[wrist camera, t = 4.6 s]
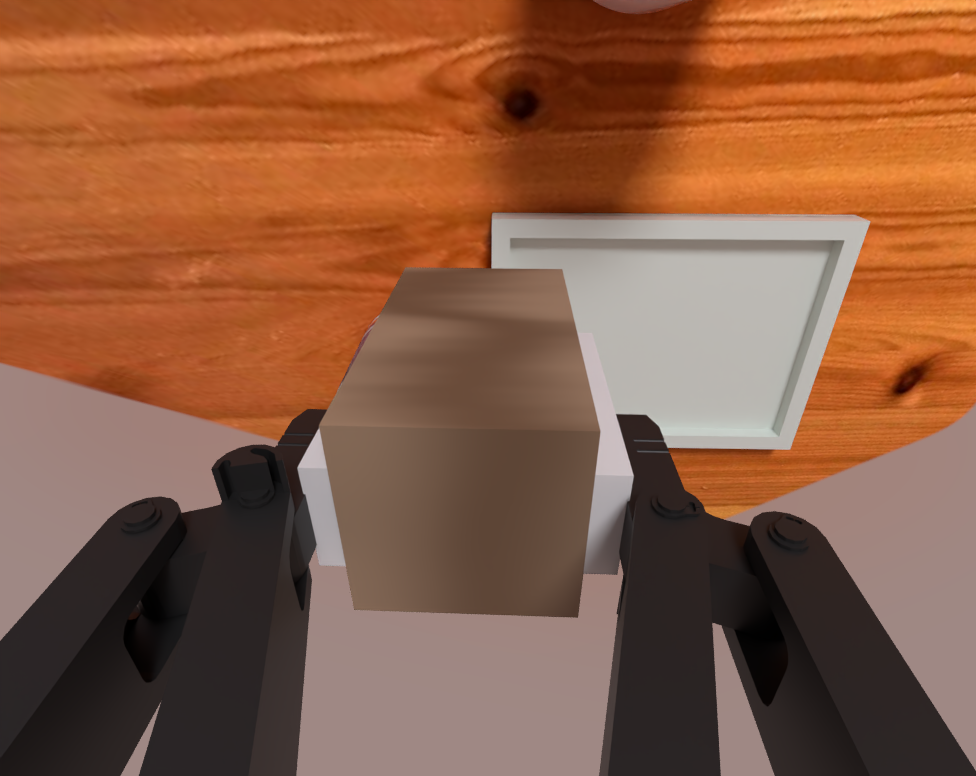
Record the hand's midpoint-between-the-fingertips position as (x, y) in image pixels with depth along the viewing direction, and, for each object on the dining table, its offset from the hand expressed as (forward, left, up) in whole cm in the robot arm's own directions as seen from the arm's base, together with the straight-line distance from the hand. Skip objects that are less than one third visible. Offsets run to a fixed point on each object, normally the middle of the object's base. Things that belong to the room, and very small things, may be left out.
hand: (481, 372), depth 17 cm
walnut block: (0, 0, -2) cm, 2 cm away
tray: (+10, -7, -17) cm, 21 cm away
